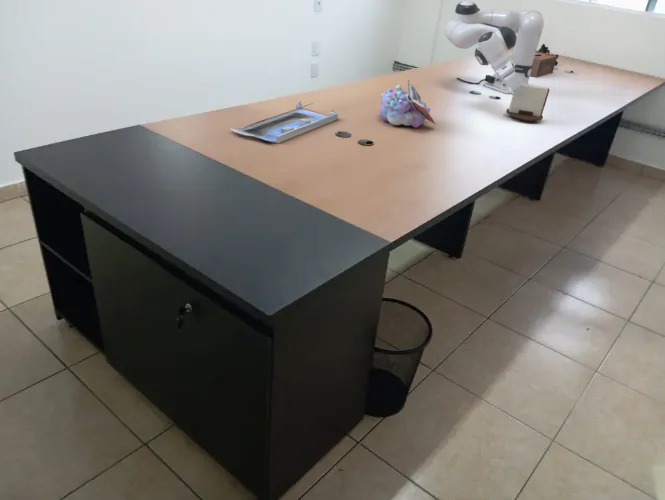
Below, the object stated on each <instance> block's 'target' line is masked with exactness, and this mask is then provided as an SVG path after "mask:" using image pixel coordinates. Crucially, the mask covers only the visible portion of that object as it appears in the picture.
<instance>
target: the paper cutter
mask: <svg viewBox="0 0 665 500" xmlns="http://www.w3.org/2000/svg"><path fill="white" fill-rule="evenodd" d="M313 104H314V102H312V103H309V104H306V105H302V101H297V104H296V107H295V109H292V110H289V111H287V112H284V113H281V114H277V115H275V116H271V117H269V118H268V117H267V118H266V119H262V120H259V121H257V122H254V123H251V124H248V125H245V126H243V127H239V128H237V129H235V128H230V130H231V131H233V132H235V133H237V134H239V135H243V136H249V137H255V138H258V139H261V140H263V141H267V142H270V143H276V144H280V143H282V142H285V141H287V140H290V139H292V138H295V137H297V136H299V135H303V134H304V133H307V132H310V131H313V130H315V129H316V128H320V127H322V126H324V125H327V124H330V123H331V122H332V123H333V122H334V121H337V120H338V119H339V112H336V111H334V108H331V111H330V112H329V115H326V114H322V113H319V112H315V111H312V110H310V109H309V110H308V109H306V108H305V107H307V106H311V105H313Z"/></svg>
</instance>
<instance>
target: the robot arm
mask: <svg viewBox="0 0 665 500" xmlns="http://www.w3.org/2000/svg"><path fill="white" fill-rule="evenodd" d="M454 12H455V13H454V17H453V19H451V20H450V21H448V22H447V24H446V25H445V27H444V35H445V37H446V39H447V40H448V41H449V42H450V43H451V44H452V45H454V46H455V47H456V48H458V49H462V50H467V49H470V48H472V47H474V46H475V45H476V44H477V47H476V48H475V50H474V57H475V59H476V60H477V62H478V63H479V64H480V66H489V65H490V66H491V69H492V71H493V72H494V73H493V74H492V75H491V74H486V75H485V77H484V79H481V80H480V81H479V82H472V81H468V80H464V79H461V78H460V77H456V80H458V81H461V82H462V83H467V84H470V85H480V84H481V83H482V82H485V83H484V87H487V88H489V89H492V90H495V91H496V92H497V91H498V92H501V93H503V94H508V95H509V94H510V95H513V91H514V92H515V91H517V92H518V93H519V95H520V96H521V95H523V94H524V93H523V91H522V90H521V84H526V85H529V81H530V77H531V76H530V74H531V71H532V67H533V66H532V64H533V60H534V56H535V53H536V51H537V49H538V46H539V42H540V40H541V36H542V33H543V31H544V26H545V21H544V17H543V15H542V13H541V12H540V11H538V10H535V9H488V8H487V9H480V8H479V7H478V5H477V4H476V3H475V2H473V1H471V0H464V1H460V2H458V3H457V4H456V6H455V10H454ZM511 49H512V53H509V52H508V51H510V50H511Z"/></svg>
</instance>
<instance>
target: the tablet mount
mask: <svg viewBox="0 0 665 500" xmlns="http://www.w3.org/2000/svg"><path fill="white" fill-rule="evenodd" d="M550 51H551V50H550V49H549V47H548V46H546V44H545V43H543V44H541V46H540V48H539V49H538V51H537V52H542V53H546V54H550ZM554 55H555V56H557V59H558V58H559V54H554ZM558 64H559V62H558V61H557V60H556V63H555V66H557V65H558Z"/></svg>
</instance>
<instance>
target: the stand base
mask: <svg viewBox="0 0 665 500" xmlns="http://www.w3.org/2000/svg"><path fill="white" fill-rule="evenodd" d="M509 118H511V119H512V120H515V121H518V122H521V123H528V124H533V123H534V124H535V123H537V122H538V121H528V120H522V119H518V118H515V117H512V116H510V115H509Z"/></svg>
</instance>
